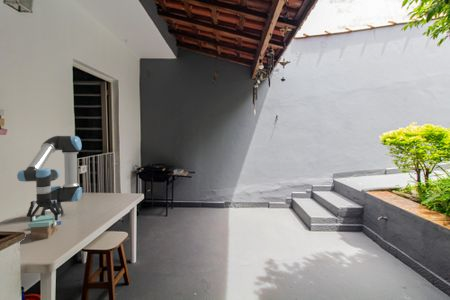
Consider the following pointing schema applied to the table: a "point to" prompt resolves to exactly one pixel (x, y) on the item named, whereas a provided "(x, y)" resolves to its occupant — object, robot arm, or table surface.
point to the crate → (43, 232)
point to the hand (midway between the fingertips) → (44, 225)
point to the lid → (42, 221)
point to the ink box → (48, 212)
